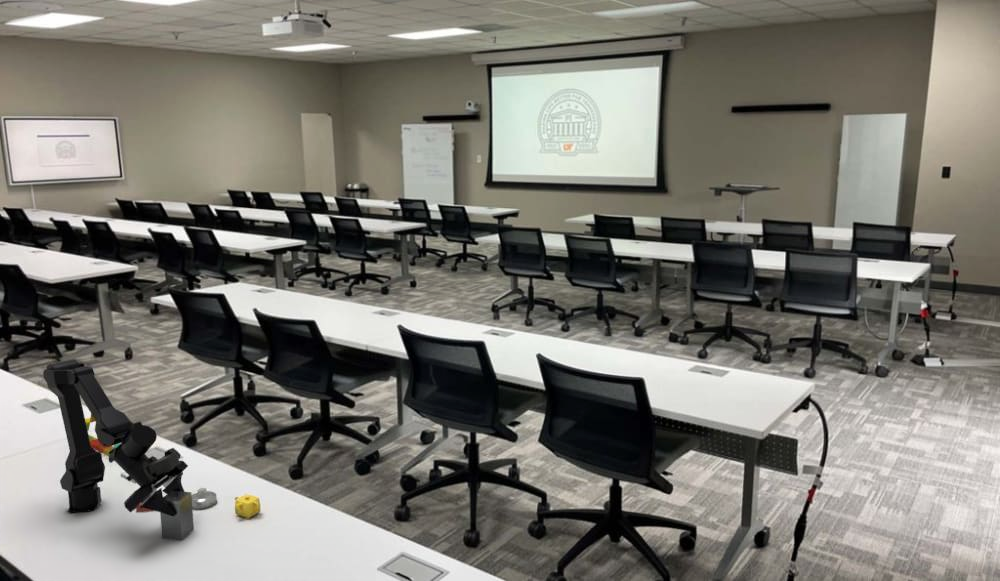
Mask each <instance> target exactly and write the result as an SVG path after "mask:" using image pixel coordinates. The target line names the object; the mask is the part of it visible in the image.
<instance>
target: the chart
mask: <svg viewBox="0 0 1000 581" xmlns="http://www.w3.org/2000/svg"><path fill="white" fill-rule="evenodd" d="M85 421H86V426H87V430H88V432H89V430H90V425H91V424H92V423H94V422H95V423H96V421H95V419H94V417H93V416H92V414H91V413H90V417H87V418H85ZM88 435H89V440H90V444H91V447H92V448H93V449H94V450H96V451H97V452H100V453H101V454H103V455H106V456H107V457H109V451H111V450H112V449H114V448H117V447H118V446H119V445H120V444H122V443H118V444H115V445H112V446H109V447H107V446H103V445H102V444H101V443H100V442H99V441H98V439H97V438H96V437H94V436H92V435H90V434H88Z"/></svg>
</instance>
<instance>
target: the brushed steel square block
mask: <svg viewBox="0 0 1000 581" xmlns="http://www.w3.org/2000/svg"><path fill="white" fill-rule="evenodd" d="M192 495H193V494H192V492H191V491H185V492H181V491H171V492H169V493H168V494H165V495H164V496H163V497H164V498H165V499H166V501H167V502H168V503H169V504H170V505H171V506H172V507H173V509H174V510H175V511H176V513H177V514H176V515H175V516H170V515H167V514H164V513H161V512H159V514H160V515H159V516H160V527H161V539H162V540H172V541H173V540H175V541H183V540H184V539H185V538H187V537H188V536H189V535H190V534H191V533H192V532H194V531H195V530H194V529H195V527H194V516H193V515H194V513H193V511H194V510H193V509H192Z"/></svg>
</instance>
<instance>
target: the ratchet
mask: <svg viewBox="0 0 1000 581" xmlns="http://www.w3.org/2000/svg"><path fill="white" fill-rule="evenodd" d="M217 501H218V500H217V494H216V492H214V491H209V490H207V488H205V487H200V488H198V489H197V492H195V493H193V494H192V510H193V511H202V510H207V509H211V508H213V507H215V505H216V504H218V503H217ZM142 505H143V504H142V503H140V504H139V506H138V507H137V508H136V509H135V510H136V511H135V512H136V513H141V512H142V513H143V512H155V511H154V510H150V509H146V508H142V509H140V507H141V506H142Z"/></svg>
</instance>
